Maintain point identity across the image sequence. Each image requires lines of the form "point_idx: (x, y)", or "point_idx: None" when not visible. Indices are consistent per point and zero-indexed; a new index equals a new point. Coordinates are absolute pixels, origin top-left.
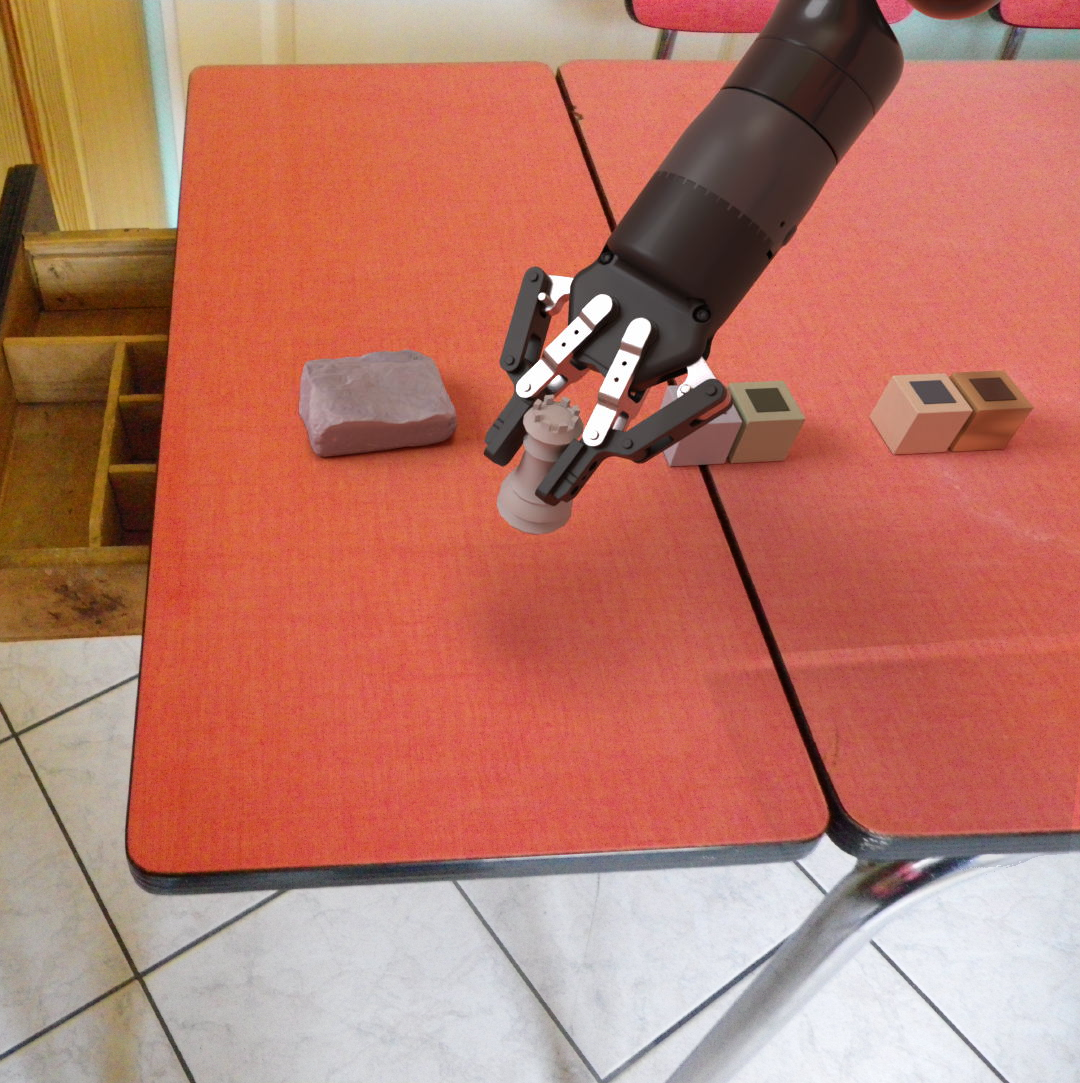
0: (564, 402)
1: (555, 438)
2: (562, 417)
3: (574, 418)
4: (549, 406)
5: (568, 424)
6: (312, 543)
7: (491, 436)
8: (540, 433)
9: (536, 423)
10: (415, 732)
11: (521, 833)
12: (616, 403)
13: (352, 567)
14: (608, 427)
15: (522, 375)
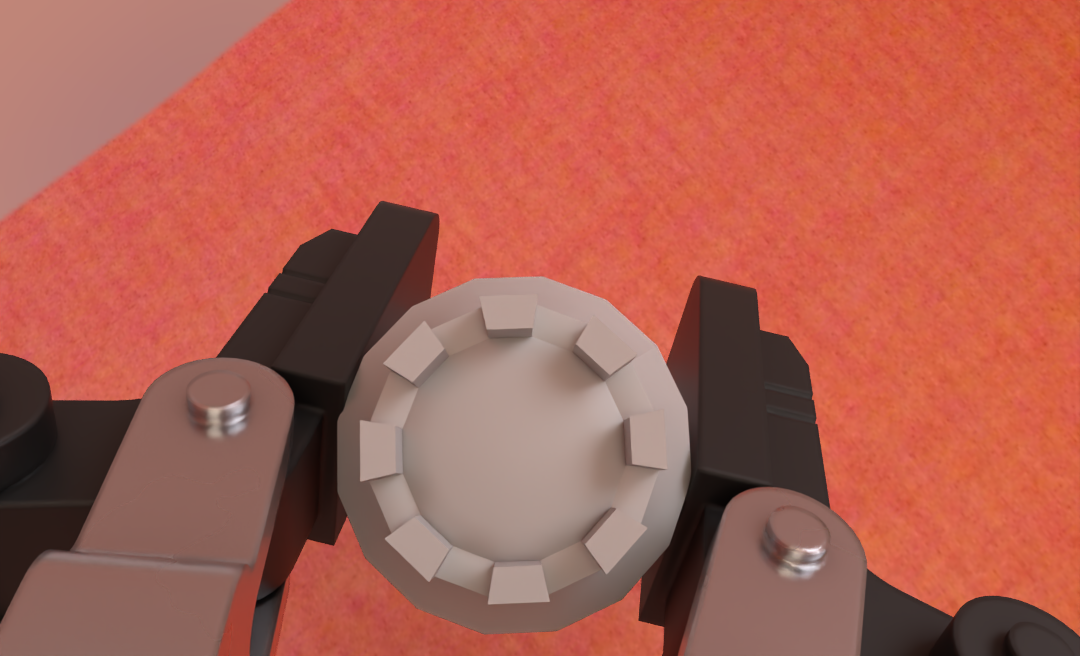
0: (514, 564)
1: (431, 312)
2: (465, 450)
3: (380, 446)
4: (581, 487)
5: (410, 429)
6: (1016, 393)
7: (774, 354)
8: (521, 293)
9: (575, 327)
10: (528, 126)
11: (250, 70)
12: (63, 551)
13: (896, 392)
14: (121, 447)
15: (880, 643)
